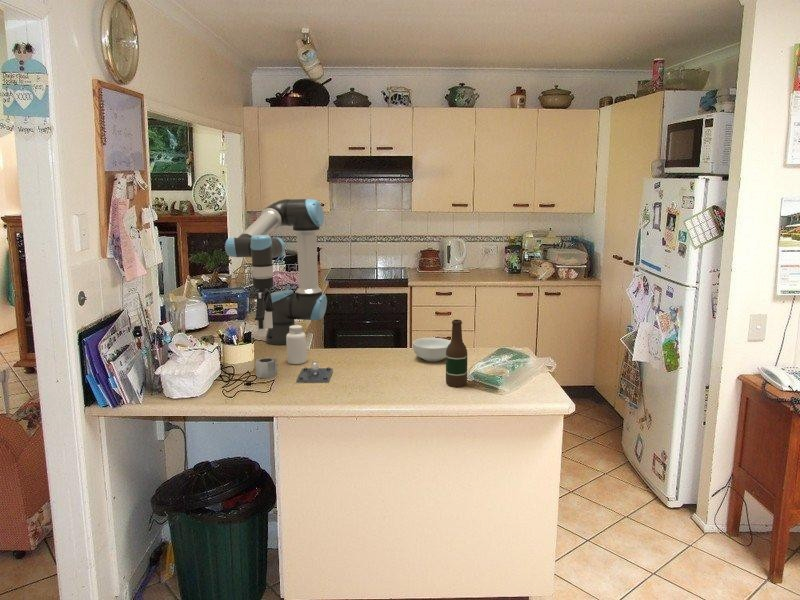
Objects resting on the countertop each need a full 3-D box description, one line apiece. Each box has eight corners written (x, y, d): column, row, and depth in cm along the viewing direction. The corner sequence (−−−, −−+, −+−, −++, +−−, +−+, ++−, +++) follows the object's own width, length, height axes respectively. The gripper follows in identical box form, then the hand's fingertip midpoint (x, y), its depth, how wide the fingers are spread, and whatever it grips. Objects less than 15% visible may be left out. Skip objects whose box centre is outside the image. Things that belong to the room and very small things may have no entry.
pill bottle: (308, 359, 264) (307, 324, 261) (304, 365, 256) (302, 329, 253) (290, 358, 265) (288, 324, 262) (284, 364, 257) (283, 328, 254)
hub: (258, 372, 248) (258, 357, 246) (278, 372, 247) (277, 357, 246) (254, 378, 240) (253, 363, 239) (274, 378, 240) (273, 363, 239)
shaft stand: (302, 370, 249) (301, 357, 248) (332, 370, 249) (332, 357, 247) (296, 382, 235) (295, 368, 234) (328, 382, 235) (328, 368, 234)
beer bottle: (441, 383, 232) (441, 320, 227) (456, 379, 237) (456, 316, 232) (456, 389, 226) (456, 323, 222) (471, 384, 231) (472, 320, 226)
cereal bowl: (441, 367, 252) (442, 350, 250) (405, 361, 260) (405, 344, 259) (459, 356, 266) (460, 340, 265) (424, 351, 274) (424, 335, 273)
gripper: (259, 272, 248) (262, 324, 253) (245, 282, 224) (248, 341, 228) (278, 271, 248) (281, 324, 253) (266, 282, 224) (269, 340, 228)
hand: (265, 332), depth 240 cm, fingers open, 13 cm apart
